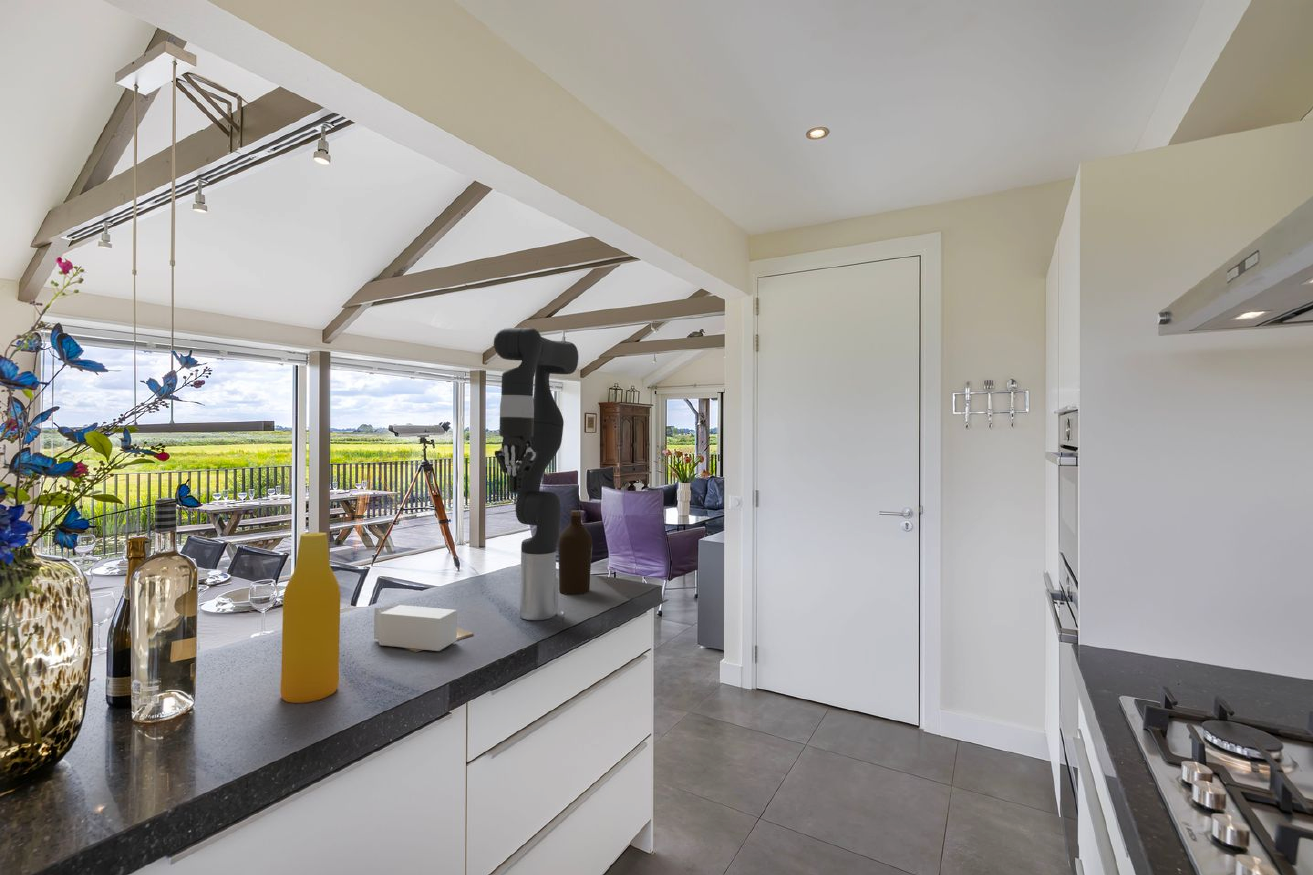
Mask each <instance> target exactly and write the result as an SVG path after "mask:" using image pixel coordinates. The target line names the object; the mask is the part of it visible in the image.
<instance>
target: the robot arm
mask: <svg viewBox="0 0 1313 875" xmlns="http://www.w3.org/2000/svg"><path fill="white" fill-rule="evenodd" d="M493 348H494V350H495V352H496V354H497V356H499V357H500V358H501V359H504V360H507V361H521V362H520V364H519V365H518V366H517V367H514V368H510V369H505V370H503V371H502V374H501V390H500V391H501V393H500V394H501V397H500V403H499V434H498V435H499V436H500V437H501V438H502V442H501V447H500V449H498V450H495V451H494V456H495V459H496V460H497V463H498V465H499V466H500V469H501V471H502V472H503V473H506V474H507V476H508V489H509V493H512V494H517V495H516V499H515V500H516V501H515V517H516V519H517V521H518V522H519V523H520V524H522V525H528V526H536V530H535V534H534V535H533V536H530V537H529V538H525V539H524V540H522V541H521V546H520V548H521V549H520V592H519V599H520V600H519V617H520V618H521V619H523V620H527V621H542V620H543V621H544V620H549V619H553V618H554V616H556V615H557V614H559V577H557V576H556V575H557V547H558V540H559V537H560V526H561V510H562V509H561V501H560V498H559V496H558V495H557V494H556V493H555V492H553V491H543V490H540V488H541V483H542V479H543V475H544V473H545V471H546V469H547V467H548V466H549V464H550V463H551V462H552V460H553V459H554V458H555V456H556V455H557V453H558V451H559V450H560V449H561V448H560V447H561V445H562V440H563V435H564V434H563V431H564V425H565V424H564V418H563V414H562V412H561V410H560V408H559V406H558V404H557V402H556V400H555V398H554V396H553V394H552V391H551V385H550V374H552V375H571V374H573V373H574V372H575V371H576V370H577V368H578V366H579V350H578V348H577V346H576V344H574V343H573V342H572V341H571V342H570V341H565V340H552V339H548V338H545V337H544V336H541V333H540V332H539V331H538V330H537V329H536V328H533V327H508V328H507V327H506V328H505V327H504V328H502V329H499V330H498V331H497V332H496V334H494V338H493Z"/></svg>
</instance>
